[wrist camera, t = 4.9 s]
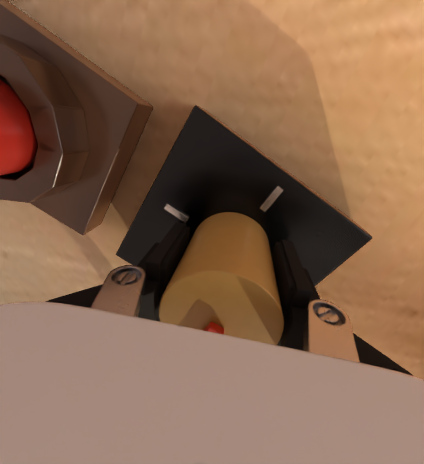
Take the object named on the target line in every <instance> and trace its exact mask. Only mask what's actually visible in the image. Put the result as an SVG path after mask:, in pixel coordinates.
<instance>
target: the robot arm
mask: <svg viewBox="0 0 424 464" xmlns="http://www.w3.org/2000/svg"><path fill="white" fill-rule="evenodd" d="M189 233H190V228H189V227H187V226H186V224H183V223H177V222H176V223H175V224H174V225H173V227H172V228H171V229H170V231H169V232H168V233H167V234H166V236H165V237H164V238H163V240H162V241H161V242H160V243H155V244H154V245H153V246H152V247H151V249H150V250H149V251H148V252H147V254H146V255H145V256H144V257H143V258H142V260H141V261H140V262H139V263H138V265H137V266H134V265H125V266H120V267H118V268H115V269H114V270H112V271H111V272H110V273H109V274H108V276H107V278H106V280H105V281H104V283H103V284H102V285H99V286H96V287H92V288H89V289H85V290H82V291H79V292H75V293H72V294H68V295H65V296H62V297H58V298H55V299H51V300H49V301H46V302H19V303H8V304H2V305H0V464H424V380H423V379H421V378H418V377H414V376H413V375H412V374H411V373H409V372H408V371H407V370H405V369H404V368H402V367H401V366H399V365H398V364H397V363H395V362H394V361H392V360H391V359H390V358H388V357H387V356H385V355H384V354H382V353H381V352H380V351H378V350H377V349H375V348H374V347H372V346H371V345H370V344H368V343H367V342H365V341H364V340H362V339H361V338H360V337H358V336H357V335H355V334H354V333H353V332H352V327H351V323H350V319H349V317H348V315H347V314H346V313H345V312H344V311H343V310H342V309H341V308H340V307H338V306H337V305H335V304H333V303H331V302H329V301H326V300H321V299H320V298H319V295H318V293H317V291H316V288H315V286H314V284H313V282H312V279H311V277H310V275H309V272H308V270H307V269H306V268H303V266H302V264H301V261H300V259H299V257H298V254H297V252H296V249H295V247H294V244H293V242H292V241H287V240H280V242H276V244H275V247H274V251H273V254H272V261H273V266H274V272H275V277H276V282H277V287H278V292H279V297H280V302H281V307H282V313H283V318H284V328H283V333H282V336H281V338H280V340H279V342H278V344H277V345H273V344H268V343H263V342H258V341H253V340H248V339H243V338H239V337H234V336H229V335H224V334H219V333H214V332H209V331H204V330H199V329H194V328H189V327H184V326H179V325H174V324H169V323H164V322H160V318H159V303H160V300H161V297H162V295H163V293H164V292H165V290H166V288H167V286H168V284H169V282H170V280H171V278H172V276H173V274H174V272H175V270H176V268H177V266H178V264H179V262H180V260H181V258H182V256H183V254H184V252H185V250H186V248H187V247H188V245H189Z"/></svg>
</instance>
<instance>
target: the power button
mask: <svg viewBox="0 0 424 464" xmlns="http://www.w3.org/2000/svg"><path fill="white" fill-rule="evenodd" d="M36 151H37V139H36V135H35V131H34V127H33V123H32V119H31V116H30V113H29V111H28V109H27V108H26V106H25V105H24V104H23V102H22V101H21V99H20V98H19V96H18V95H17V94H16V92H15V91H14V90H13V89H12V88H11V87H10V86H9V85H7V84H6V83H5V82H4V81H2V80H1V79H0V175H5V174H10V173H16V172H20V171H22V170H24V169H26V168H27V167H28V166H29V165H30V164H31V163H32V162H33V160H34V158H35V155H36Z"/></svg>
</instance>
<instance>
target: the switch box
mask: <svg viewBox="0 0 424 464" xmlns="http://www.w3.org/2000/svg"><path fill="white" fill-rule="evenodd" d="M0 79H1V80H2V81H4V82H5V83H6V84H7V85H9V86H10V87H11V88H12V89H13V90H14V91H15V92H16V94H17V95H18V96H19V98H20V99H21V101H22V102H23V104H24V105H25V106H26V108H27V109H28V111H29V113H30V116H31V119H32V123H33V127H34V131H35V135H36V139H37V151H36V155H35V158H34V160H33V162H32V163H31V164H30V165H29V166H28V167H27V168H26V169H24V170H22V171H20V172H16V173H10V174H5V175H0V199H1V200H10V201H19V202H29V203H31V204H32V205H34V206H36V207H37V208H39V209H41V210H42V211H44V212H46V213H47V214H49V215H50V216H52V217H54V218H55V219H57V220H59V221H60V222H62V223H64V224H65V225H67V226H68V227H70V228H72V229H73V230H75V231H77V232H78V233H80V234H82V235H84V234H86V233H87V232H89V231H90V230H92V229H94V228H95V227H97V226H98V225H100V224H101V222H102V220H103V218H104V216H105V213H106V211H107V209H108V207H109V204H110V202H111V200H112V198H113V196H114V193H115V191H116V189H117V187H118V184H119V182H120V180H121V178H122V176H123V173H124V171H125V169H126V167H127V164H128V162H129V160H130V158H131V155H132V153H133V151H134V149H135V147H136V144H137V142H138V140H139V138H140V135H141V133H142V131H143V129H144V127H145V124H146V122H147V120H148V118H149V115H150V113H151V111H152V109H153V106H151V105H150V104H149V103H147V102H146V101H145V100H143V99H142V98H140V97H139V96H138V95H136V94H135V93H133V92H132V91H131V90H129V89H128V88H127V87H125V86H124V85H122V84H121V83H120V82H118V81H117V80H116V79H114V78H113V77H111V76H110V75H109V74H107V73H106V72H105V71H103V70H102V69H100V68H99V67H98V66H96V65H95V64H93V63H92V62H91V61H89V60H88V59H87V58H85V57H84V56H82V55H81V54H80V53H78V52H77V51H76V50H74V49H73V48H71V47H70V46H69V45H67V44H66V43H65V42H63V41H62V40H60V39H59V38H58V37H56V36H55V35H53V34H52V33H51V32H49V31H48V30H47V29H45V28H44V27H42V26H41V25H40V24H38V23H37V22H36V21H34V20H33V19H31V18H30V17H29V16H27V15H26V14H25V13H23V12H22V11H20V10H19V9H18V8H16V7H15V6H13V5H12V4H11V3H9V2H8V1H7V0H0Z"/></svg>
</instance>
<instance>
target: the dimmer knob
mask: <svg viewBox="0 0 424 464" xmlns="http://www.w3.org/2000/svg"><path fill="white" fill-rule="evenodd" d="M159 318H160V322H164V323H169V324H174V325H179V326H184V327H189V328H194V329H199V330H204V331H209V332H214V333H219V334H224V335H229V336H234V337H239V338H243V339H248V340H253V341H258V342H263V343H268V344H273V345H277V344H278V342H279V340H280V338H281V336H282V333H283V328H284V318H283V313H282V307H281V302H280V297H279V292H278V287H277V282H276V277H275V272H274V266H273V261H272V256H271V251H270V246H269V241H268V237H267V235H266V233H265V231H264V230H263V228H262V227H261V226H260V225H259V224H258V223H257V222H256V221H255V220H253V219H252V218H250V217H248V216H246V215H243V214H240V213H235V212H223V213H218V214H215V215H212V216H210V217H209V218H207V219H205V220H204V221H203V222H202V223H201V224H200V225H199V226H198V228H197V229H196V231H195V233H194V235H193V237H192V239H191V241H190V243H189V245H188V247H187V248H186V250H185V252H184V254H183V256H182V258H181V260H180V262H179V264H178V266H177V268H176V270H175V272H174V274H173V276H172V278H171V280H170V282H169V284H168V286H167V288H166V290H165V292H164V293H163V295H162V297H161V300H160V303H159Z"/></svg>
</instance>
